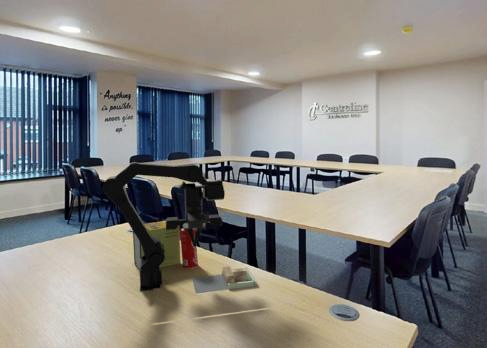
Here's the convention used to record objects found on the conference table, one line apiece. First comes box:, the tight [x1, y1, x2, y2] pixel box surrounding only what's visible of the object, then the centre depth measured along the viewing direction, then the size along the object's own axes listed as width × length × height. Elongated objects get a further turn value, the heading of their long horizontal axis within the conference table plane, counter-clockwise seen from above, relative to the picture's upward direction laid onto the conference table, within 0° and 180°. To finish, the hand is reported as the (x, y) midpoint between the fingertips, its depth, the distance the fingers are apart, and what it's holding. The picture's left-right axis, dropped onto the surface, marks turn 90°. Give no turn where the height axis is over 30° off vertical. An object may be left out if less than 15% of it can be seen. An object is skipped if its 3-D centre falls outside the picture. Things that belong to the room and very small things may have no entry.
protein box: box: [132, 220, 181, 270], centre depth 129 cm, size 10×15×16 cm
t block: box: [222, 266, 247, 286], centre depth 114 cm, size 7×8×4 cm
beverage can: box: [180, 227, 199, 270], centre depth 126 cm, size 6×6×15 cm
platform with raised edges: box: [192, 267, 258, 294], centre depth 113 cm, size 20×12×2 cm, turn 104°
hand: (194, 246), depth 114 cm, fingers closed
